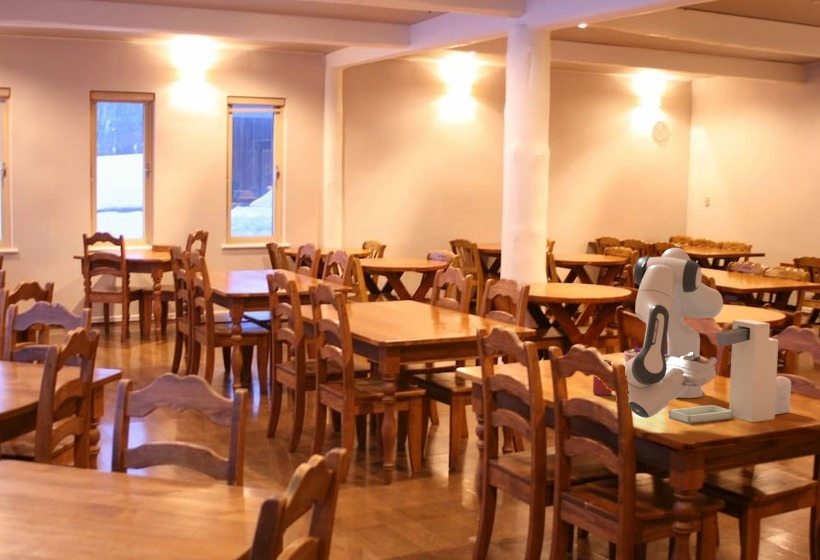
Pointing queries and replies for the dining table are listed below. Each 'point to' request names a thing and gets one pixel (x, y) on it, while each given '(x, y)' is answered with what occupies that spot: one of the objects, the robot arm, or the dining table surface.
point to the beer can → (600, 385)
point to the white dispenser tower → (754, 373)
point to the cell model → (633, 353)
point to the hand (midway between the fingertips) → (704, 356)
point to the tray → (700, 414)
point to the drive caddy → (733, 336)
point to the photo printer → (782, 395)
